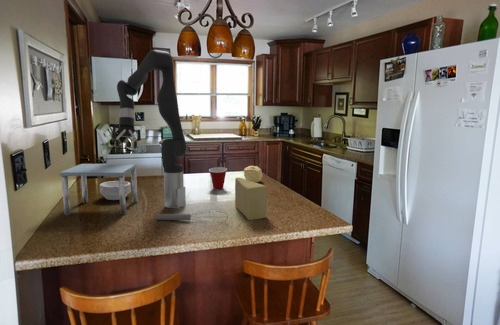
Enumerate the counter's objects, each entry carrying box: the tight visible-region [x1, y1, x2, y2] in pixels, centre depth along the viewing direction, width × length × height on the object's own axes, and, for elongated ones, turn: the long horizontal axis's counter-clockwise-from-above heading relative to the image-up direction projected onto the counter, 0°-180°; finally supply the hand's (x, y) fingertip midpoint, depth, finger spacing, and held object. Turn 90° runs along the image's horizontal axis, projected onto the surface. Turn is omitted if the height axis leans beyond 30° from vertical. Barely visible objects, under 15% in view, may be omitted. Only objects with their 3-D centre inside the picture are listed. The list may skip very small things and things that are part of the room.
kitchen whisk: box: [152, 208, 229, 225], centre depth 146 cm, size 6×34×6 cm, turn 82°
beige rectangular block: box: [234, 177, 268, 221], centre depth 158 cm, size 22×10×15 cm, turn 28°
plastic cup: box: [208, 166, 228, 190], centre depth 203 cm, size 11×11×12 cm
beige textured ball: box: [243, 165, 263, 183], centre depth 222 cm, size 11×12×11 cm
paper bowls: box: [99, 180, 132, 201], centre depth 180 cm, size 15×15×8 cm
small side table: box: [59, 163, 138, 216], centre depth 162 cm, size 22×27×20 cm
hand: (126, 148), depth 179 cm, fingers open, 8 cm apart
